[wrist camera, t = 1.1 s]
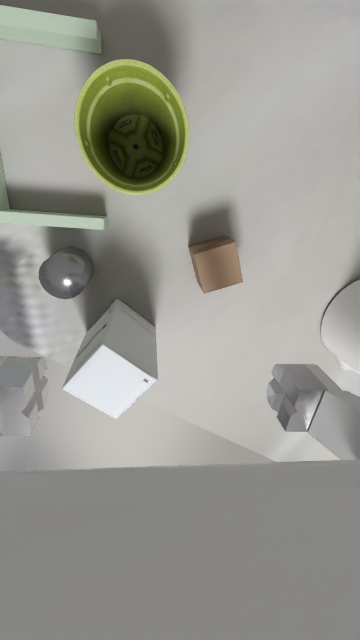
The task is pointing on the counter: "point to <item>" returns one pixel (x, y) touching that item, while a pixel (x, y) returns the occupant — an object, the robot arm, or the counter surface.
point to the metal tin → (66, 273)
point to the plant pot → (131, 126)
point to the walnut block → (216, 263)
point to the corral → (60, 35)
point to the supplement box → (114, 361)
